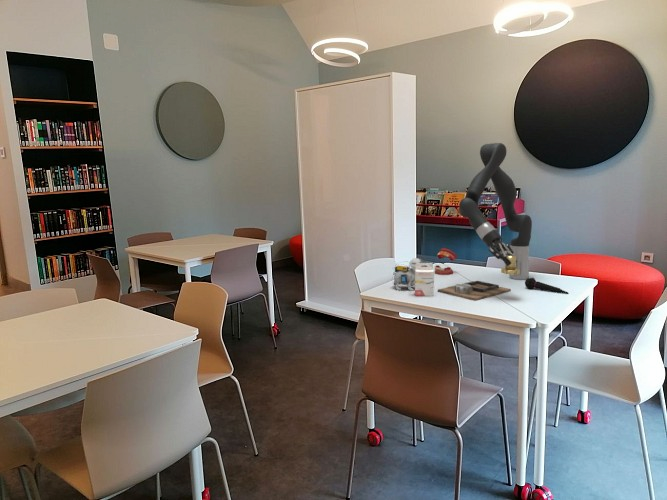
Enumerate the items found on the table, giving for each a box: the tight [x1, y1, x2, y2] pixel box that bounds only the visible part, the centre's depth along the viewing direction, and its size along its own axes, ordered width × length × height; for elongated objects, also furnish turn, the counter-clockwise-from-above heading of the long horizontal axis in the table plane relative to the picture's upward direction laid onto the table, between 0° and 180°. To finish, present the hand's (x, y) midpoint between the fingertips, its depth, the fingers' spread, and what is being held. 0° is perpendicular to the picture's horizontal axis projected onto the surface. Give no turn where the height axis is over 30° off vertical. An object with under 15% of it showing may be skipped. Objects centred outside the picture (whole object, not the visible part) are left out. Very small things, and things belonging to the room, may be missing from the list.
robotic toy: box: [391, 257, 427, 292], centre depth 243 cm, size 13×17×15 cm
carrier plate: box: [437, 280, 512, 302], centre depth 234 cm, size 26×22×4 cm
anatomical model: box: [434, 247, 458, 276], centre depth 275 cm, size 10×8×15 cm
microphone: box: [524, 277, 569, 294], centre depth 232 cm, size 6×6×20 cm
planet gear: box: [500, 255, 520, 275], centre depth 218 cm, size 8×8×8 cm
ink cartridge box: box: [414, 262, 435, 297], centre depth 230 cm, size 9×5×15 cm, turn 84°
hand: (512, 263), depth 217 cm, fingers closed on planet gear, 4 cm apart
